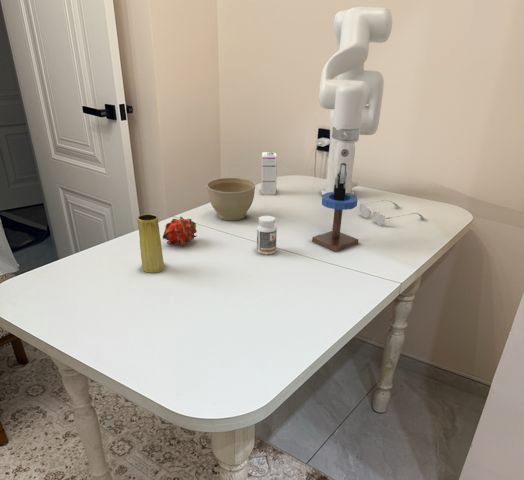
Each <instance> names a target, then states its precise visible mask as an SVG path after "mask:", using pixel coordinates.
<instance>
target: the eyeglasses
mask: <svg viewBox="0 0 524 480" xmlns="http://www.w3.org/2000/svg"><path fill="white" fill-rule="evenodd" d="M379 202H380V200H378V201H376V203H379ZM382 202H389V203H391V204H393V205H394V207H395V208H396V209H400V205H398V204H397V203H396V202H394V201H392V200H387V199H385V200H384V199H383V200H382ZM373 203H374V201H373V202H370V204H373ZM367 204H369V202H366V203H365V204H364V203H359V204H358V206H359V212H360V215H361V216H362V217H363V218H365V219H366V218H369V217H370V215H372V213H373V220H374V223H375V224H377V225H379V226H383V225H384V223H385V221H386V220H390V219H392V218H394V216H392V217H391V216H388V217H386V215H384V214H383V213H381V212H379V211H374V210H371V208H370V207H369V206H367ZM414 214H415V215H418V216H419V217H420V220H422V221H423V220H425V217H424V216H423V215H422V214H420V213H418V212H411V213H408V214H406V216H409V215H414ZM404 216H405V214H402V215H401V217H404ZM398 217H400V215H398V216H396V218H398Z"/></svg>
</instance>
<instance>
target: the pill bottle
mask: <svg viewBox="0 0 524 480" xmlns="http://www.w3.org/2000/svg"><path fill="white" fill-rule="evenodd" d="M258 224H259V225H257V227H256V251H257V252H258V253H259V254H261V255H273V254H275V253H276V251H277V226H276V225H275V224H276V218H275V217H274V216H271V215H262V216H260V217H258Z"/></svg>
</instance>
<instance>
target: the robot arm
mask: <svg viewBox="0 0 524 480" xmlns="http://www.w3.org/2000/svg"><path fill="white" fill-rule="evenodd" d="M392 27H393V15H392V12H391V10H390V9H389V8H387V7H383V6H355V7H351V8H349V9H344V10H340V11H338V12H337V13H336V14H335V16H334V20H333V31H334V37H335V41H336V44H337V49H338V51H336V52H335V53H333V55H332V56H331V57H329V59H328V60H327V61H326V63H325V64H324V66H323V68H322V70H321V73H320V74H321V75H320V81H319V89H318V103H319V105H320V107H322V108H323V109H325V110H330V113H329V149H328V159H327V160H328V161H327V170H326V182H325V187H323V188H322V189H321V192H320V193H321V196H322V195H324V194H325V193H329V192H334V200H337V201H344V199H345V193H350V194H353V195H355V191H354V190H353V188H355V187H358V186H359V182H358V180H356V181H352V179H353V172H354V171H353V170H354V164H355V157H356V156H355V155H356V143H357V142H359V138H360V136H372V135H374V134H376V133H377V131H378V128H379V125H380V117H381V110H382V102H383V95H384V87H385V83H384V82H385V80H384V75H383V73H382V72H380V71H378V70H368V69H367V70H366V69H365V63H366V61H367V59H368V57H369V49H370V43H374V44H376V43H377V44H378V43H379V44H381V43H386V42H387V41H388V40H389V38H390V36H391V33H392ZM336 77H337V78H336ZM335 78H336V79H335Z"/></svg>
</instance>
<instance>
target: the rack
mask: <svg viewBox="0 0 524 480" xmlns="http://www.w3.org/2000/svg"><path fill="white" fill-rule="evenodd" d="M333 210H334V211H333V221H332V229H331V231H327V232H324V233H321V234H318V235H314V236H312V238H311V242H312V243H314V244H317V245H319V246H320V247H323V248H326V249H328V250H331V251H333V252H335V253H336V252H339V251H343V250H345V249H347V248H351V247H354V246H356V245H359V238H356V237H353V236H351V235H349V234H346V233H343V232H341V229H342V219H343V211H344V210H336V209H333Z"/></svg>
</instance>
